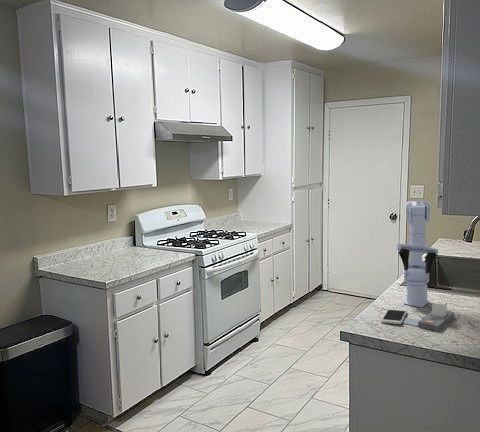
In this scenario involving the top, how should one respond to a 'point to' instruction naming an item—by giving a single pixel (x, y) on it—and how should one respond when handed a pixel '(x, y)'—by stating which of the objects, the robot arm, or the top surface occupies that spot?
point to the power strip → (435, 321)
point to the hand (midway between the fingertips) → (416, 271)
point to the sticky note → (410, 321)
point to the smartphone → (394, 316)
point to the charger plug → (439, 309)
